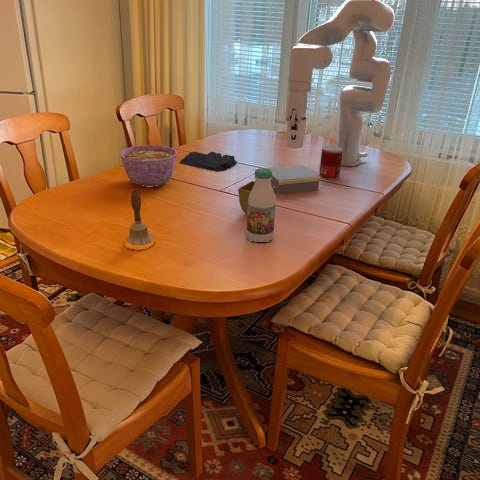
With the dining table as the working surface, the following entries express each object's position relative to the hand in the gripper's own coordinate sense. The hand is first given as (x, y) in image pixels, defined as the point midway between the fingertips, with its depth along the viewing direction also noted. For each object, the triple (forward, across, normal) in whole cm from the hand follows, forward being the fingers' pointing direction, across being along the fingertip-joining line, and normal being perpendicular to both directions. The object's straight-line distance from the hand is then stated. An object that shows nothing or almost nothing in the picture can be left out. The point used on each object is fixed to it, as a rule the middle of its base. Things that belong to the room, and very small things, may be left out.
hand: (295, 139), depth 161 cm
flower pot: (+17, +30, -4) cm, 35 cm away
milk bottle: (+17, +46, +3) cm, 49 cm away
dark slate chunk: (+18, -11, -38) cm, 44 cm away
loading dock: (+17, 0, 0) cm, 17 cm away
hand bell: (+17, +63, -26) cm, 70 cm away
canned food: (+17, -17, +11) cm, 27 cm away
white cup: (+2, -1, 0) cm, 3 cm away
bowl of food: (+17, +20, -48) cm, 55 cm away
